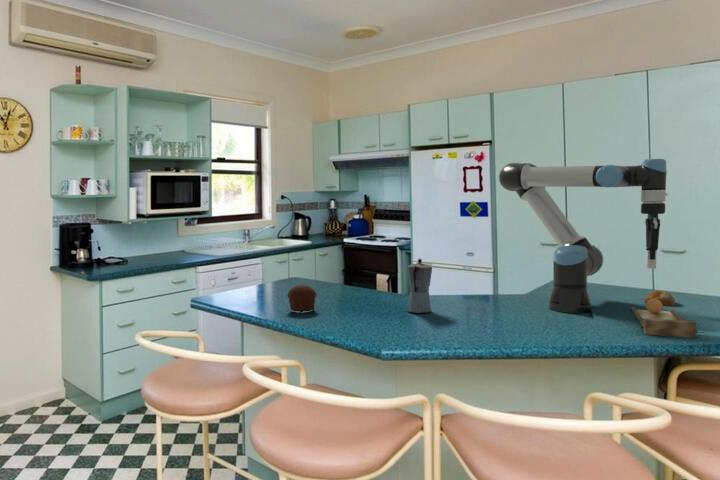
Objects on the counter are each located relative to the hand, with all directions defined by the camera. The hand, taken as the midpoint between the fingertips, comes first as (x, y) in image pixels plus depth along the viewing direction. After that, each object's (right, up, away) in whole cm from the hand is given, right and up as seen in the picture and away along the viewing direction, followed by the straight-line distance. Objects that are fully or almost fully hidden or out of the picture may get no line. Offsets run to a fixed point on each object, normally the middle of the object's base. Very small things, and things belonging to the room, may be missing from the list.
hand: (651, 268), depth 179 cm
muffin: (-128, -18, +14) cm, 130 cm away
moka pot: (-83, -17, +9) cm, 85 cm away
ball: (-3, -15, -6) cm, 17 cm away
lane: (-6, -18, -16) cm, 24 cm away
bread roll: (+8, -15, +9) cm, 20 cm away
